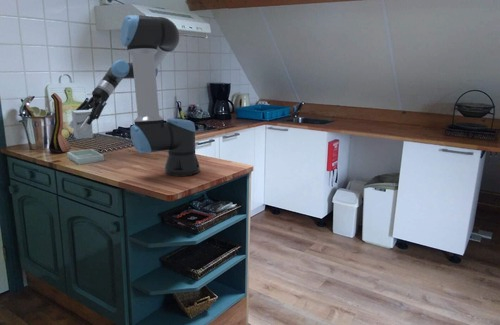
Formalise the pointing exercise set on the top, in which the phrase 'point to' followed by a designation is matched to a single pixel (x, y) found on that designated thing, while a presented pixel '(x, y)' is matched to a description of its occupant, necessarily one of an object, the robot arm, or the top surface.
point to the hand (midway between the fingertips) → (76, 128)
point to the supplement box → (78, 120)
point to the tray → (85, 156)
